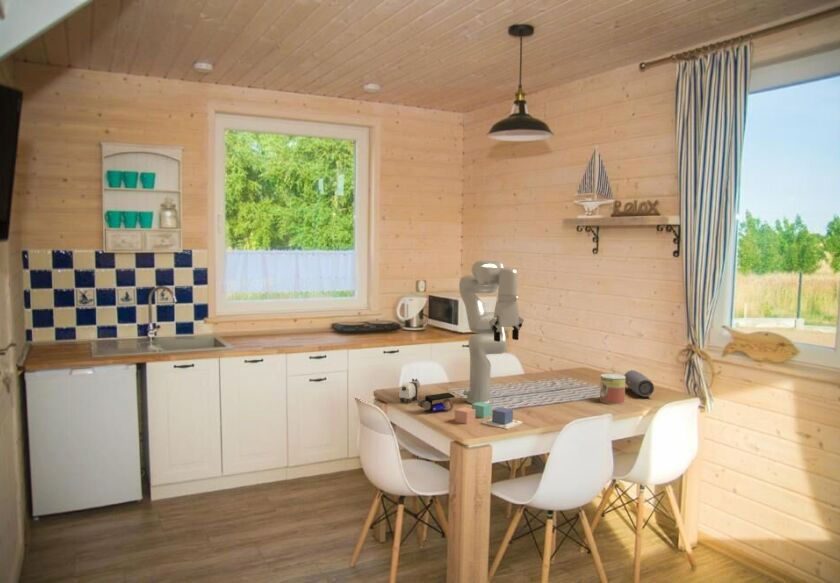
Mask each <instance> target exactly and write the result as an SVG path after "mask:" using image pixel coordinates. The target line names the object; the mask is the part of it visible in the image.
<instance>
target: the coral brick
mask: <svg viewBox="0 0 840 583" xmlns="http://www.w3.org/2000/svg"><path fill="white" fill-rule="evenodd" d="M454 422H457V423H461V424H465V425H468V424H471V423H474V422H476V416H475V409H472V407H471V408H470V407H465V406H463V407H459V408H456V409H454Z"/></svg>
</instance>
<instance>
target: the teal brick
mask: <svg viewBox="0 0 840 583" xmlns="http://www.w3.org/2000/svg"><path fill="white" fill-rule="evenodd" d="M492 404H493V403H491V404H488V403H483V402H478V403H475V404H471V409H475V418H476V417H477V418H480V419H485V418H488V417H491V416H492V410H493V408H492V407H493V405H492Z"/></svg>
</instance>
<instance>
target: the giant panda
mask: <svg viewBox="0 0 840 583" xmlns="http://www.w3.org/2000/svg"><path fill="white" fill-rule="evenodd" d="M420 387H421V383H420V381H419V380H418V378H412V380H411V382H404V383H402V384H401V386H400V387H399V391H398V396H399V403H402V404H403V403H406V404H411V403H412V401H413V402H416V401H418V392H419V391H418V390H419V388H420ZM411 399H412V401H411ZM405 400H406V402H405Z"/></svg>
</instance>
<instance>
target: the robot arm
mask: <svg viewBox="0 0 840 583" xmlns="http://www.w3.org/2000/svg"><path fill="white" fill-rule="evenodd" d="M471 273H472V274H471V275H470V274H468V275H464V276H462V277H461V278H460V280H459V283H458V286H459V294H460V298H461V299H462V301H463V303H464V306H465V312H466V317H467V322H468V327H469V331H470V332H472V333H474V334H472V335H471V336H469V339H468V349H469V350H468V351H469V390H467V389H464V390H463V393H462V394H463V396H467V397H466V398H465V401H466V403H468V404H471V405H472V404H475V403H478V402H483V403H488V404H493V403H494V398H492V397H491V380H492V379H491V374H492V371H491V369H492V364H491V362H490V360H489V359H488V357H487V355H501V354H504V353H505V352H506V351H507V347H508V345H507V344H508V343H507V342H508V341H507V337H506V331H505V328H509V327H510V328H513V329H512V332H511V333H512V334H511V336H512V337H511V339H512V340H514V341H519V331H520V330H521V328H522V327H523V324H524V320H525V319H524V318H522V317H520V315H519V312H520V311H519V305H518V302H517V300H518V299H519V296H518V295H517V292H518V290H517V289H518V271H517V270H516V269H514V268H510V267H504V265H503V263H502V262H501V261H500V260H478V261H475V262H474V263H473V264H472V267H471ZM497 290H498V291H497ZM495 291H497V302H495V307H494V311H493V312H492V311H490V312H489V311H488V312H487V311H486V310H485V306H484V303H483V301H482V300H481V298H480V297H479V296H477V295H476V294H493V293H495ZM475 333H476V334H475Z"/></svg>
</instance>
